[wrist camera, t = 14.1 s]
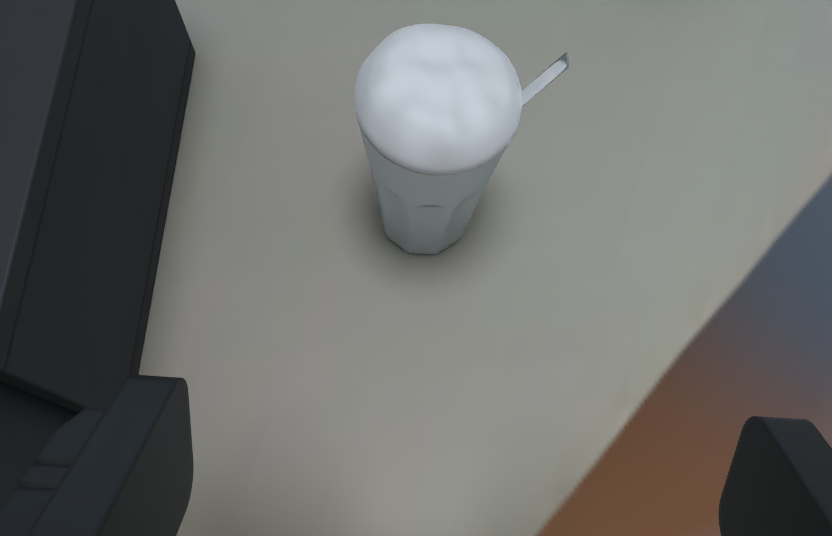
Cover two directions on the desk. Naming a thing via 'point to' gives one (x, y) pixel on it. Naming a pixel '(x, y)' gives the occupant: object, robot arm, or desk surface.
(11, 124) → the small filing cabinet
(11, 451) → the drawer
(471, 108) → the milkshake
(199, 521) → the desk surface
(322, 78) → the desk surface
